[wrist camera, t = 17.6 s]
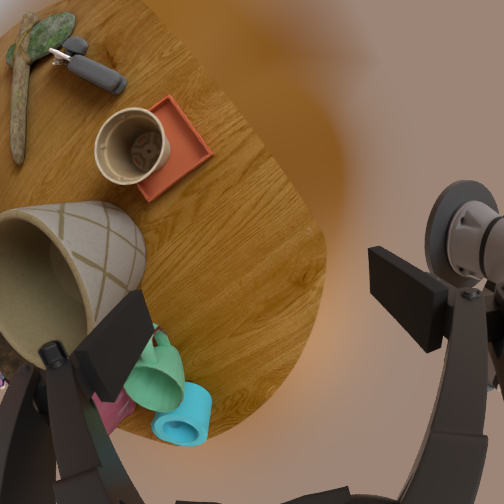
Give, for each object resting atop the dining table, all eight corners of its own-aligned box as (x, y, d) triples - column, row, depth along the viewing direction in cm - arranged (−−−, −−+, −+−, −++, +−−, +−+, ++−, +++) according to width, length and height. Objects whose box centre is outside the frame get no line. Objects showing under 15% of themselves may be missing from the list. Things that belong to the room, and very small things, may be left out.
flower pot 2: (130, 429, 36) (149, 383, 48) (58, 383, 34) (89, 345, 46) (110, 456, 39) (127, 416, 51) (50, 419, 36) (75, 383, 49)
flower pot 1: (142, 110, 35) (117, 96, 27) (194, 136, 37) (179, 126, 28) (112, 165, 37) (82, 164, 29) (161, 194, 39) (140, 198, 30)
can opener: (54, 63, 32) (39, 56, 27) (75, 35, 31) (61, 26, 26) (115, 104, 35) (100, 97, 30) (140, 72, 34) (128, 61, 29)
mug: (196, 377, 47) (187, 415, 38) (146, 372, 47) (130, 407, 38) (188, 307, 44) (174, 340, 34) (132, 304, 44) (108, 334, 34)
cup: (193, 425, 51) (187, 456, 42) (154, 406, 50) (143, 437, 41) (220, 395, 49) (217, 430, 40) (176, 373, 47) (166, 407, 38)
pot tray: (172, 97, 35) (168, 93, 33) (214, 155, 38) (212, 154, 36) (114, 144, 37) (108, 142, 35) (152, 201, 39) (148, 202, 37)
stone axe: (10, 165, 33) (-35, 81, 23) (25, 165, 37) (-22, 85, 28) (111, 50, 31) (47, -12, 22) (119, 61, 36) (55, -2, 27)
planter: (173, 223, 40) (114, 264, 21) (134, 323, 44) (83, 399, 25) (76, 175, 38) (-13, 183, 19) (51, 273, 42) (-21, 319, 23)
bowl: (96, 374, 48) (76, 404, 38) (39, 379, 49) (20, 402, 39) (45, 280, 42) (14, 300, 32) (-3, 302, 44) (-29, 319, 34)
